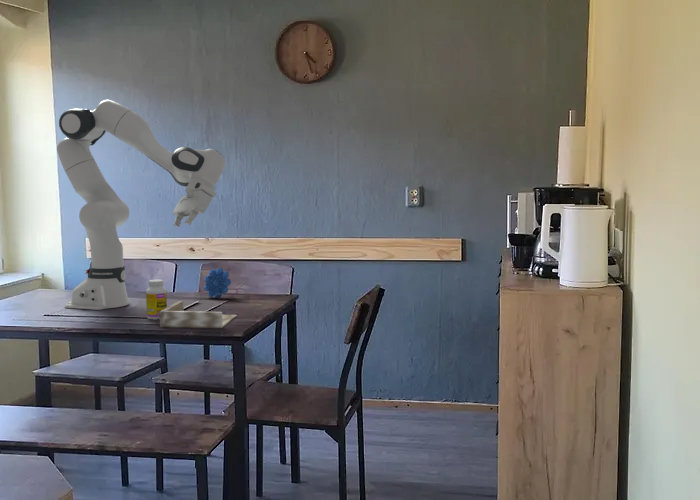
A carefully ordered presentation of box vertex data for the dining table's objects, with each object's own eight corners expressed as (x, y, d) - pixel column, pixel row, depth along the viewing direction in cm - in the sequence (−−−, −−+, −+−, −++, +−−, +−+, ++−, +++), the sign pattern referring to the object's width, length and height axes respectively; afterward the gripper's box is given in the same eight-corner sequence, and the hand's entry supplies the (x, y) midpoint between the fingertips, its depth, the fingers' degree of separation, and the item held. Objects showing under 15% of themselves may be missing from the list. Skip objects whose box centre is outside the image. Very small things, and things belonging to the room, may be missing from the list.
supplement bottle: (156, 321, 239) (155, 282, 238) (142, 318, 243) (141, 281, 241) (171, 317, 245) (170, 279, 244) (157, 315, 249) (156, 278, 247)
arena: (160, 327, 231) (159, 311, 230) (179, 315, 248) (179, 300, 248) (221, 328, 228) (220, 312, 228) (236, 316, 246) (236, 301, 245)
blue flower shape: (236, 296, 282) (235, 266, 280) (228, 300, 275) (227, 268, 274) (209, 295, 285) (208, 265, 284) (201, 298, 279) (200, 267, 277)
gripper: (179, 190, 263) (162, 223, 258) (204, 183, 246) (186, 217, 242) (193, 199, 266) (176, 232, 261) (218, 192, 249) (201, 227, 245)
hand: (181, 225), depth 251 cm, fingers open, 8 cm apart
